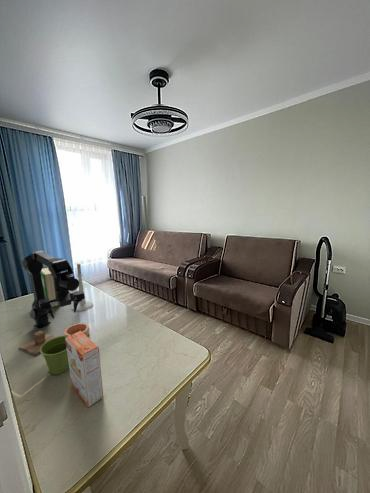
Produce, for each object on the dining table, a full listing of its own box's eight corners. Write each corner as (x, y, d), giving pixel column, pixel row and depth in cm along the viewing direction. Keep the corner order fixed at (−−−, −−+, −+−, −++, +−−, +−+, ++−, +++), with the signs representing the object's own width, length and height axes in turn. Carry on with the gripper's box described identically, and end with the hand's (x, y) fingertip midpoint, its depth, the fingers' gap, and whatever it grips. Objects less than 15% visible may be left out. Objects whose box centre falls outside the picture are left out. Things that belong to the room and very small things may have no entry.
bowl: (60, 340, 105) (59, 332, 104) (78, 328, 115) (77, 321, 114) (76, 346, 101) (75, 338, 100) (93, 333, 111) (93, 325, 110)
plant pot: (52, 385, 79) (49, 359, 77) (37, 371, 85) (33, 347, 83) (82, 365, 89) (79, 341, 87) (66, 354, 95) (63, 332, 93)
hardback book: (60, 305, 140) (56, 271, 135) (47, 309, 135) (42, 274, 130) (53, 297, 152) (49, 265, 147) (41, 300, 147) (37, 268, 142)
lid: (19, 348, 98) (17, 337, 97) (44, 334, 109) (43, 323, 108) (36, 355, 94) (34, 343, 92) (60, 339, 104) (59, 329, 103)
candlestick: (86, 300, 148) (82, 259, 142) (97, 305, 141) (93, 262, 135) (68, 307, 138) (63, 263, 132) (78, 313, 130) (73, 267, 124)
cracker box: (70, 386, 79) (64, 336, 75) (86, 376, 83) (81, 329, 79) (87, 409, 70) (81, 355, 66) (104, 397, 74) (99, 345, 70)
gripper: (39, 297, 88) (44, 330, 91) (86, 286, 99) (89, 316, 103) (36, 288, 96) (40, 319, 99) (80, 279, 108) (83, 307, 111)
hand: (64, 315), depth 103 cm, fingers open, 9 cm apart
